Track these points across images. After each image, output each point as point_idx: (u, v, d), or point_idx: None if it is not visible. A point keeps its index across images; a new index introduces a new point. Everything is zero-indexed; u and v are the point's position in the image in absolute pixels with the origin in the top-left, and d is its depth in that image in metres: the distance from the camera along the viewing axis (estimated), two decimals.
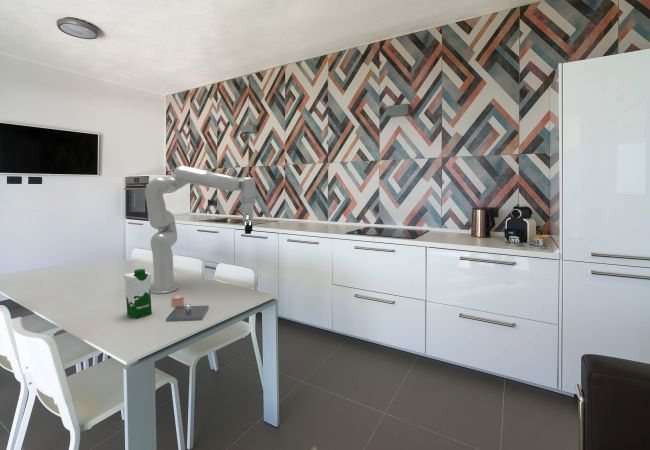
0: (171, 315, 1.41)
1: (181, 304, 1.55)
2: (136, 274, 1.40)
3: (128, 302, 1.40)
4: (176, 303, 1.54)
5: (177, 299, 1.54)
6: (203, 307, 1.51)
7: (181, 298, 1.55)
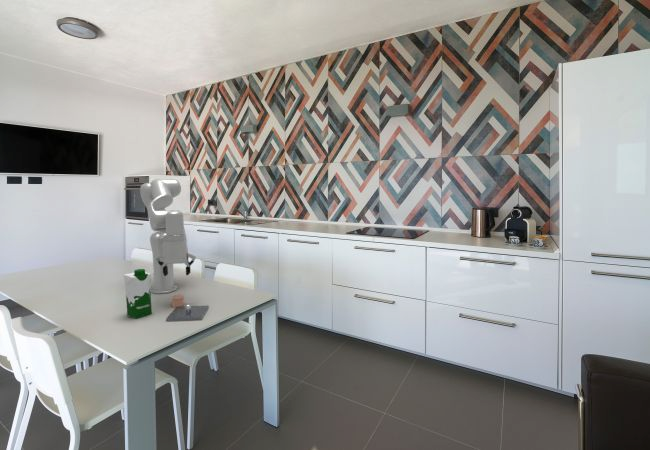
0: (171, 315, 1.41)
1: (181, 304, 1.55)
2: (136, 274, 1.40)
3: (128, 302, 1.40)
4: (176, 303, 1.54)
5: (177, 299, 1.54)
6: (203, 307, 1.51)
7: (181, 298, 1.55)
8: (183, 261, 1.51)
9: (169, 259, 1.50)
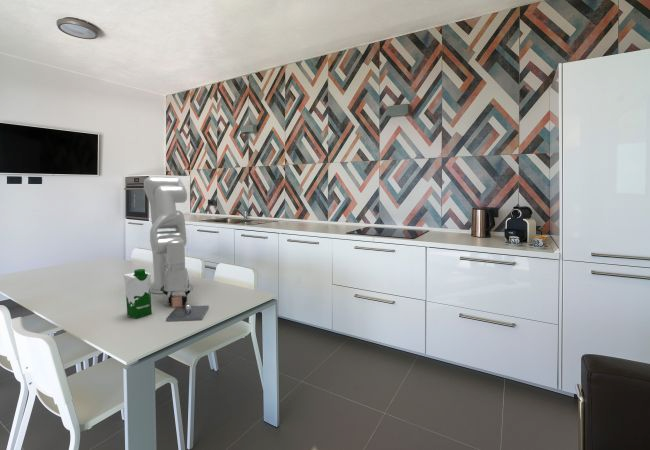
0: (171, 315, 1.41)
1: (181, 304, 1.55)
2: (136, 274, 1.40)
3: (128, 302, 1.40)
4: (176, 303, 1.54)
5: (177, 299, 1.54)
6: (203, 307, 1.51)
7: (181, 298, 1.55)
8: (184, 289, 1.53)
9: (170, 287, 1.52)
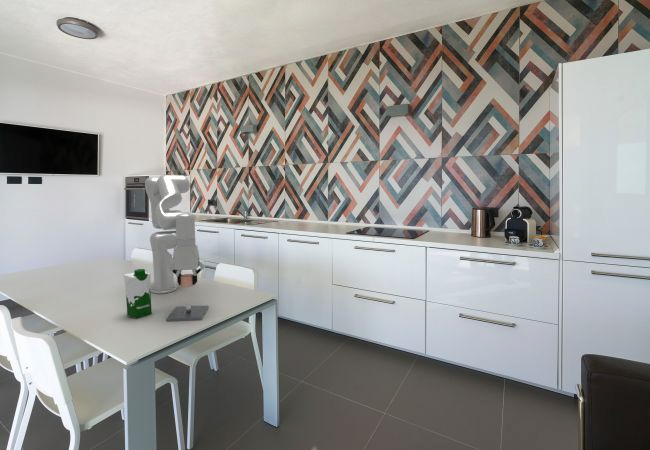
0: (171, 315, 1.41)
1: (191, 284, 1.43)
2: (136, 274, 1.40)
3: (128, 302, 1.40)
4: (186, 282, 1.41)
5: (187, 278, 1.41)
6: (203, 307, 1.51)
7: (191, 277, 1.42)
8: (194, 267, 1.41)
9: (179, 265, 1.40)
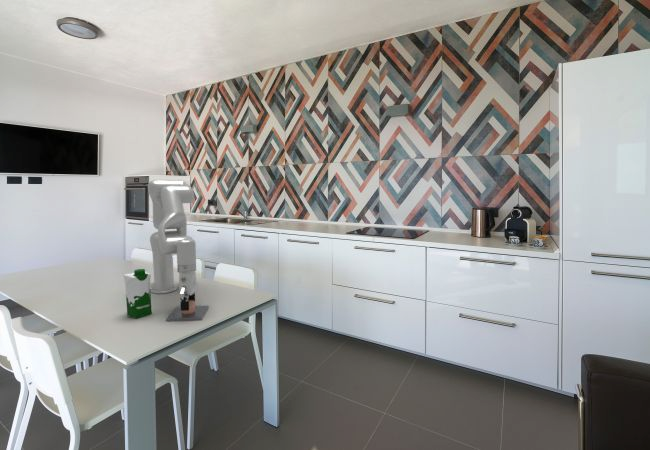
0: (171, 315, 1.41)
1: None
2: (136, 274, 1.40)
3: (128, 302, 1.40)
4: (194, 307, 1.46)
5: (194, 303, 1.46)
6: (203, 307, 1.51)
7: None
8: (196, 288, 1.48)
9: (193, 289, 1.42)
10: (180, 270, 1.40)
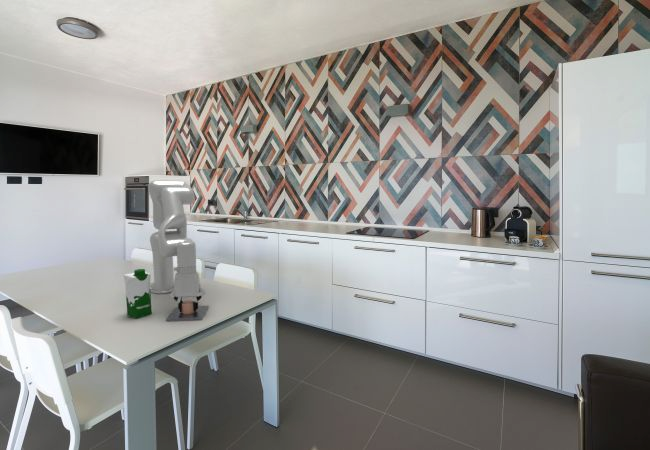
0: (171, 315, 1.41)
1: None
2: (136, 274, 1.40)
3: (128, 302, 1.40)
4: None
5: None
6: (203, 307, 1.51)
7: None
8: (195, 294, 1.42)
9: (180, 292, 1.41)
10: None
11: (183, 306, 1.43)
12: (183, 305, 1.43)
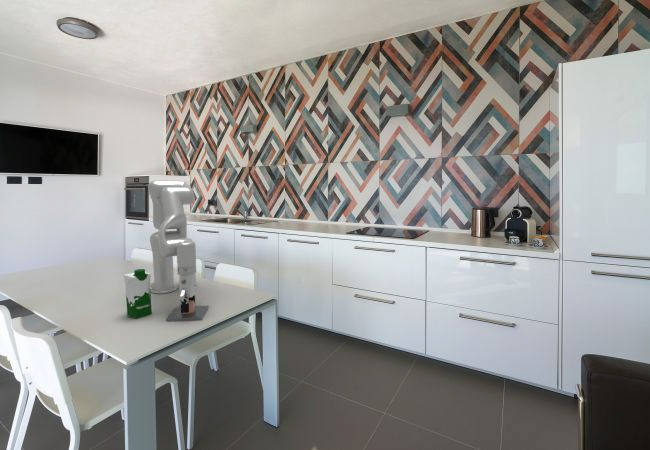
0: (171, 315, 1.41)
1: None
2: (136, 274, 1.40)
3: (128, 302, 1.40)
4: None
5: None
6: (203, 307, 1.51)
7: None
8: (196, 290, 1.49)
9: (193, 291, 1.43)
10: (180, 272, 1.40)
11: (191, 305, 1.44)
12: (191, 304, 1.44)
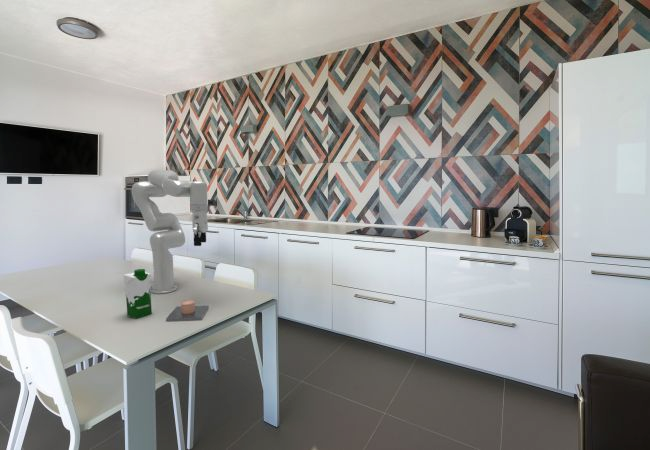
0: (171, 315, 1.41)
1: None
2: (136, 274, 1.40)
3: (128, 302, 1.40)
4: None
5: None
6: (203, 307, 1.51)
7: None
8: (207, 228, 1.62)
9: (204, 227, 1.56)
10: (193, 209, 1.53)
11: (191, 305, 1.44)
12: (191, 304, 1.44)
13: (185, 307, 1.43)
